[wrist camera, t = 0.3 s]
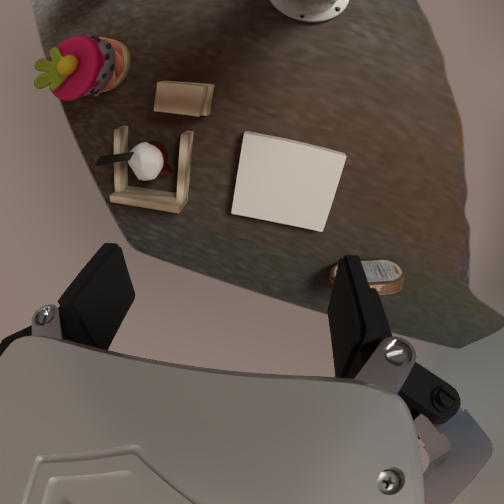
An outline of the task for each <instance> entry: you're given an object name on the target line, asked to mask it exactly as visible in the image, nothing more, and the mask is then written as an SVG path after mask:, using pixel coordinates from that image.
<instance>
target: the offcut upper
mask: <svg viewBox="0 0 504 504" xmlns="http://www.w3.org/2000/svg"><path fill="white" fill-rule="evenodd" d="M207 92H208V86H204V85H196V84H187V83H177V82H157V88H156V96H155V103H154V111H158V112H167V113H176V114H183V115H191V116H198V117H199V116H201V115H203V114H204V108H205V102H206V97H207Z"/></svg>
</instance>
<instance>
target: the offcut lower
mask: <svg viewBox="0 0 504 504" xmlns="http://www.w3.org/2000/svg"><path fill="white" fill-rule="evenodd" d="M161 82H177V83H187V84H196V85H204V86H208V92H207V97H206V102H205V108H204V114H203V115H204V116H207V115H209V114H210V109H211V103H212V96H213V90H214V84H205V83H194V82H180V81H161Z"/></svg>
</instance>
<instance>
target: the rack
mask: <svg viewBox="0 0 504 504" xmlns="http://www.w3.org/2000/svg"><path fill="white" fill-rule="evenodd" d="M193 135H194V131H185V132H184V133H182V134H181V139H180V151H179V164H178V179H177V193H173V192H167V191H160V190H154V189H147V188H140V187H133V186H128V160H127V161H121V162H115V163H114V180H115V192H114V193H112V194H111V195H110V202H114V203H120V204H126V205H132V206H138V207H144V208H150V209H156V210H162V211H168V212H173V213H180V211H181V210H182V208H183V207H184V206H185V204H186V203H187V201H188V190H189V177H190V165H191V154H192V144H193ZM121 153H128V126H121V127H118V128H116V129H114V154H121Z"/></svg>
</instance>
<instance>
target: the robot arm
mask: <svg viewBox="0 0 504 504" xmlns="http://www.w3.org/2000/svg"><path fill="white" fill-rule="evenodd" d="M269 1H270V3H271V4H272V5H273V6H274V7H275V8H276V9H277V10H278V11H279V12H280V13H282V14H284V15H285V16H287V17H290V18H292V19H294V20H298V21H302V22H310V23H314V22H323V21H328V20H330V19H333V18H335V17H336V16H338V15H340V14H341V13H342V12H343V11H344V9H345V8H346V7H347V5H348V3H349V0H269ZM335 9H337V10H338V11H335ZM300 16H303V17H304V18H301V17H300ZM134 298H135V292H134V289H133V285H132V283H131V279H130V276H129V273H128V270H127V266H126V263H125V260H124V256H123V252H122V249H121V247H119V246H118V245H117V244H116V243H105V244H103V246H102V247H101V248H100V249H99V250H98V251H97V252H96V254H95V255H94V256H93V257H92V258H91V260H90V261H89V262H88V263H87V264H86V266H85V267H84V268H83V269H82V270H81V272H80V273H79V274H78V275H77V277H76V278H75V279H74V280H73V282H72V283H71V284H70V286H69V287H68V288H67V289H66V291H65V292H64V294H63V295H62V296H61V297H60V299H59V300H58V303H59V304H60V307H59V308H57V307H56V306H55V305H45V306H43V307H41V308H40V309H38V310H37V311H36V312H35V314H34V316H33V318H32V325H31V326H29V327H27V328H25V329H23V330H21V331H19V332H16V333H14V334H12V335H10V336H8V337H6V338H5V339H3V340H2V342H1V344H0V504H450V503H451V502H452V501H453V500H454V499H455V498H456V497H457V496H458V495H459V494H460V493H461V492H462V491H463V490H464V489H465V488H466V487H467V486H468V484H469V483H470V482H471V481H472V480H473V479H474V478H475V476H476V475H477V474H478V473H479V472H480V470H481V469H482V468H483V467H484V466H485V464H486V463H487V462H488V460H489V459H490V457H491V455H492V451H493V447H492V443H491V440H490V439H489V437H488V436H487V435H486V434H485V432H484V431H483V430H482V428H481V427H480V426H479V425H478V423H477V422H476V421H475V420H474V419H473V418H472V416H471V415H470V414H469V412H468V411H467V410H466V409H465V410H464V411H463V410H462V409H461V408H460V397H459V394H458V392H457V391H456V389H455V388H453V387H452V386H451V385H449V384H448V383H446V382H445V381H443V380H442V379H440V378H439V377H437V376H436V375H434V374H433V373H431V372H430V371H428V370H427V369H425V368H424V367H422V366H421V365H419V364H418V363H416V362H415V361H416V351H415V349H414V347H413V346H412V344H411V343H410V342H408V341H407V340H406V339H403V338H401V337H395V336H393V337H392V334H391V330H390V327H389V324H388V321H387V318H386V315H385V312H384V309H383V306H382V303H381V300H380V297H379V294H378V292H377V290H376V289H375V288H370V286H369V283H368V280H367V277H366V274H365V271H364V269H363V266H362V263H361V260H360V258H359V256H357V255H345V256H344V258H340V259H339V262H338V267H337V271H336V276H335V281H334V285H333V289H332V294H331V298H330V302H329V306H328V318H329V326H330V333H331V341H332V349H333V358H334V367H335V377H320V376H294V375H277V374H261V373H248V372H237V371H227V370H218V369H210V368H202V367H195V366H188V365H181V364H175V363H168V362H163V361H157V360H151V359H146V358H141V357H136V356H131V355H126V354H122V353H117V352H113V351H109V350H108V348H109V346H110V344H111V342H112V340H113V338H114V336H115V334H116V333H117V330H118V329H119V327H120V325H121V323H122V321H123V319H124V317H125V316H126V314H127V312H128V310H129V308H130V306H131V304H132V303H133V301H134ZM418 439H421V440H422V442H423V443H424V444H425V446H424V448H425V450H426V451H427V453H428V455H429V459H430V463H429V466H428V468H427V470H426V471H425V472H424V473H423V470H422V461H421V454H420V447H419V441H418ZM383 471H384V472H383ZM381 472H382V473H381Z"/></svg>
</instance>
